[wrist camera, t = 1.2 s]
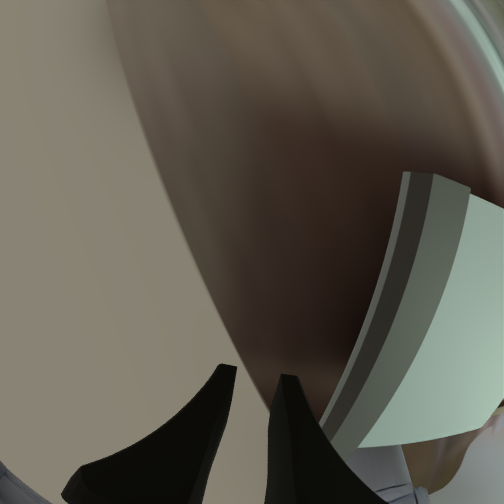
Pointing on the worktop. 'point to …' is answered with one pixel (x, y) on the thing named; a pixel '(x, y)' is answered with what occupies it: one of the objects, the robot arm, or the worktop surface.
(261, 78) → the worktop surface
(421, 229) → the lid
